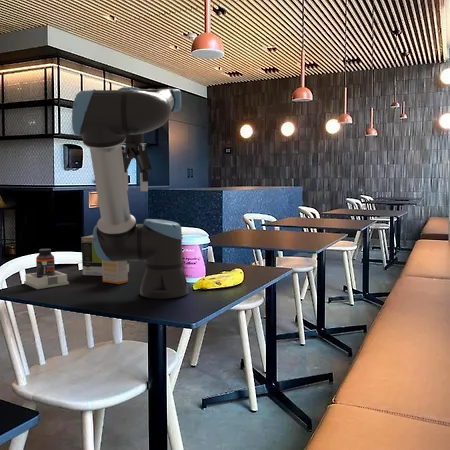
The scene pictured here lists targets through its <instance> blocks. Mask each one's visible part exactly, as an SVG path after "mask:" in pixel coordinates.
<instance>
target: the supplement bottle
mask: <svg viewBox="0 0 450 450" xmlns="http://www.w3.org/2000/svg"><path fill="white" fill-rule="evenodd" d="M35 259H36V260H35V261H36V262H35V263H36V264H35V265H36V273H37V278H42V277H49V276H55V271H56V270H55V256H54V255H53V254H52V249H51V248H40V249H39V250H38V254H37V256H36V258H35Z"/></svg>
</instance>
